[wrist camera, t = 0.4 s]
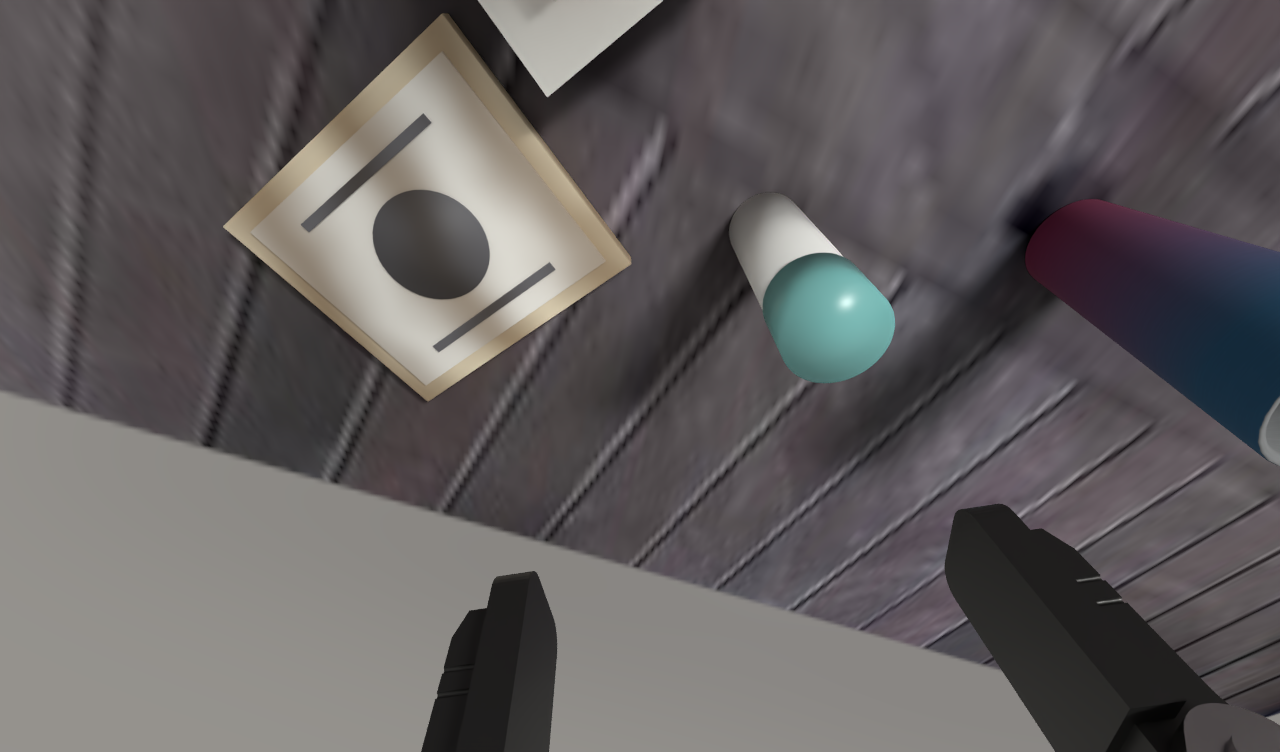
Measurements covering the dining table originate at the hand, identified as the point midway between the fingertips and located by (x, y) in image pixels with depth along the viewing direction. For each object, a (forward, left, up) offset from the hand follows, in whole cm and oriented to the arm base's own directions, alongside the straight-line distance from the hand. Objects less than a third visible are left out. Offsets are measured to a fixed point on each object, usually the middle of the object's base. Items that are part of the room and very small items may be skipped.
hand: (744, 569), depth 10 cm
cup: (-18, +15, -23) cm, 33 cm away
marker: (-4, +4, -23) cm, 23 cm away
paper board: (+11, -6, -23) cm, 26 cm away
